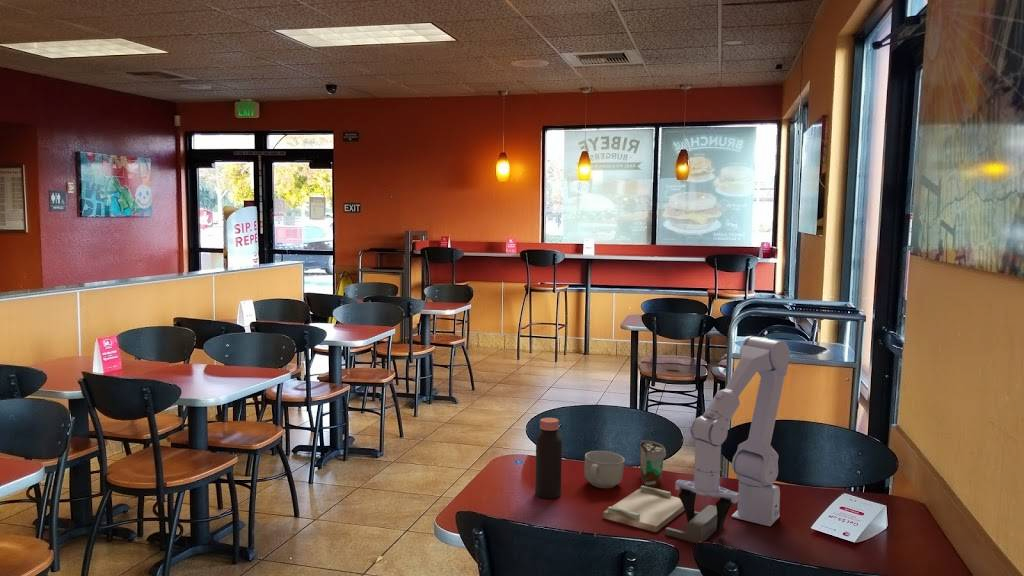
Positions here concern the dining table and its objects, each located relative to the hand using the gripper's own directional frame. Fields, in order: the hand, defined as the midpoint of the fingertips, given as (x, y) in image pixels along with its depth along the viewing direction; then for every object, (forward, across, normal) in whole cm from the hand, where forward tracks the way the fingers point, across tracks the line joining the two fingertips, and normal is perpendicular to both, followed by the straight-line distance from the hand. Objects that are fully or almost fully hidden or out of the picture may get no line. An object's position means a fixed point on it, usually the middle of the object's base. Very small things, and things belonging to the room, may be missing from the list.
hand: (705, 525), depth 178 cm
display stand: (+2, -16, +3) cm, 16 cm away
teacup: (+2, -34, +12) cm, 36 cm away
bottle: (+2, -42, -2) cm, 42 cm away
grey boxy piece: (+2, -3, 0) cm, 3 cm away
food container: (+2, -24, +24) cm, 34 cm away
